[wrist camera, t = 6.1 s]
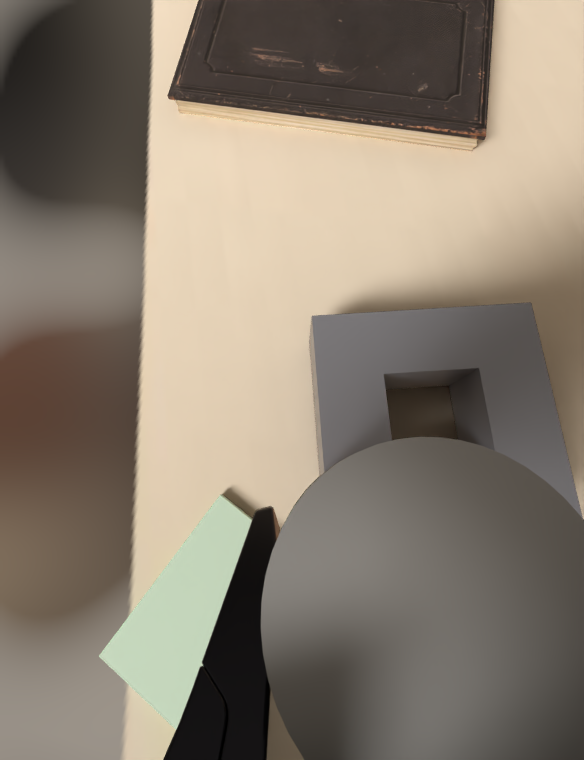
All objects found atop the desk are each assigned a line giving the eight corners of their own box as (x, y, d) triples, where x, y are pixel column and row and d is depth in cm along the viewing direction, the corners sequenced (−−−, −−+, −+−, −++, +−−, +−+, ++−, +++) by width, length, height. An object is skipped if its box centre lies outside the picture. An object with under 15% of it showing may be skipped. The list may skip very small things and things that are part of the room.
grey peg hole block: (534, 526, 21) (587, 537, 17) (324, 539, 21) (330, 554, 17) (493, 330, 24) (531, 302, 20) (309, 341, 24) (311, 315, 20)
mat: (364, 608, 20) (366, 612, 20) (251, 789, 18) (249, 800, 18) (222, 494, 22) (220, 494, 21) (104, 650, 20) (98, 656, 19)
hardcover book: (471, 162, 28) (486, 135, 26) (177, 123, 30) (167, 94, 27) (482, 9, 32) (496, -25, 30) (221, -20, 33) (215, -55, 31)
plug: (416, 493, 16) (676, 537, 5) (373, 596, 16) (566, 954, 4) (322, 445, 17) (352, 382, 6) (276, 541, 16) (194, 706, 5)
